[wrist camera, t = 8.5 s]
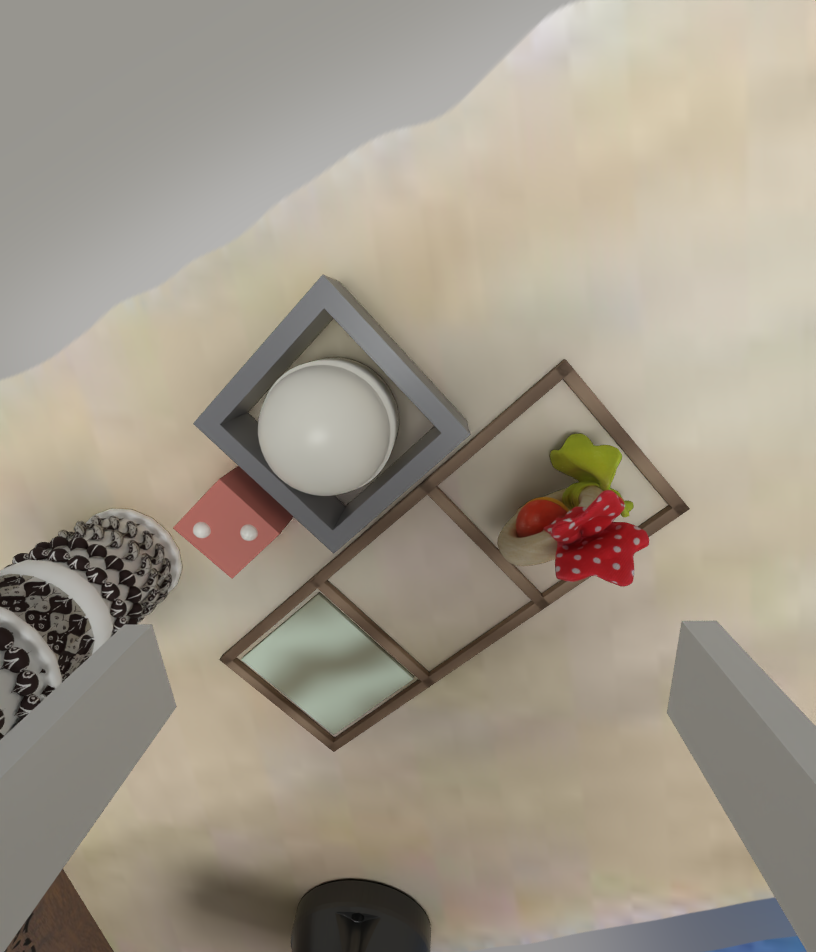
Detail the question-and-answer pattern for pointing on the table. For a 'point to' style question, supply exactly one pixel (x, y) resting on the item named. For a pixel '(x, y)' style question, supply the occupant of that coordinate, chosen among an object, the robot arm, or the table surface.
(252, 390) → the dome housing
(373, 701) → the frame
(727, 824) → the table surface
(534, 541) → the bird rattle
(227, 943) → the table surface
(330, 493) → the dome
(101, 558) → the decorative candle
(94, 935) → the tissue box cover
